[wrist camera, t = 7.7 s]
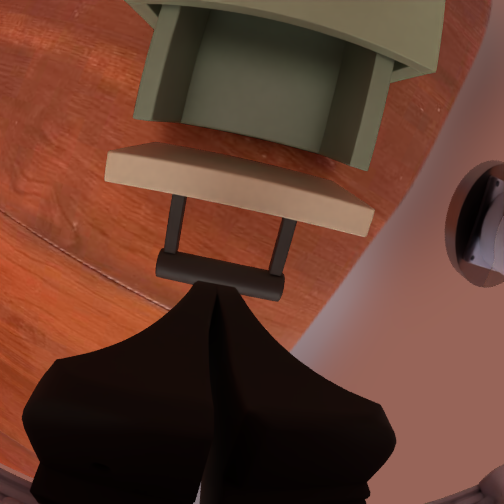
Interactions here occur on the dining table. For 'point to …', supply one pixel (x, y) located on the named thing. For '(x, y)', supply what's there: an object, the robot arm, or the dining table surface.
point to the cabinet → (346, 24)
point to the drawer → (253, 129)
